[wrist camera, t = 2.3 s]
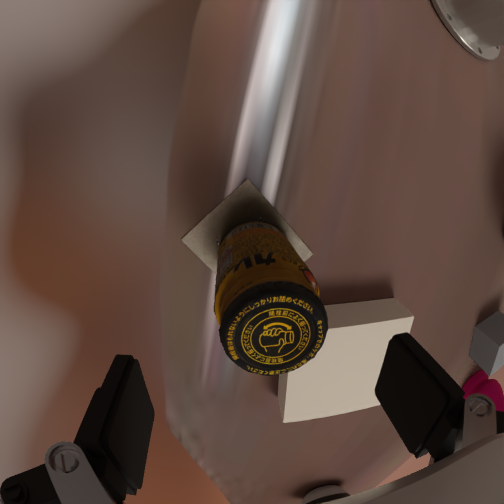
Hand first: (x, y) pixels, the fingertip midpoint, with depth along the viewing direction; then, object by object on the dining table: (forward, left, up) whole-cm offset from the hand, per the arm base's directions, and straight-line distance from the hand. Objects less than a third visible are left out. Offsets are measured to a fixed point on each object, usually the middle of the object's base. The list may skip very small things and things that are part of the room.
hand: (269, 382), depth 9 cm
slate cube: (+15, +36, -15) cm, 42 cm away
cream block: (+12, +9, -15) cm, 21 cm away
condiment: (0, 0, -16) cm, 16 cm away
